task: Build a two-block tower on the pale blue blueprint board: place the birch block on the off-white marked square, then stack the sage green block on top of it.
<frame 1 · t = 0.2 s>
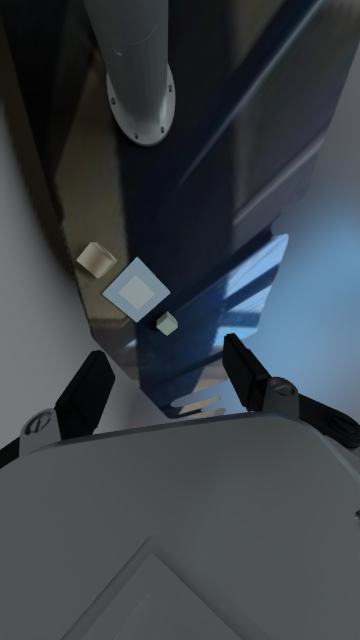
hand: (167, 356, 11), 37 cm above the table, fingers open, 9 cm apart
sage block: (166, 319, 51), on the table
birch block: (102, 259, 40), on the table
blueprint board: (137, 292, 45), on the table
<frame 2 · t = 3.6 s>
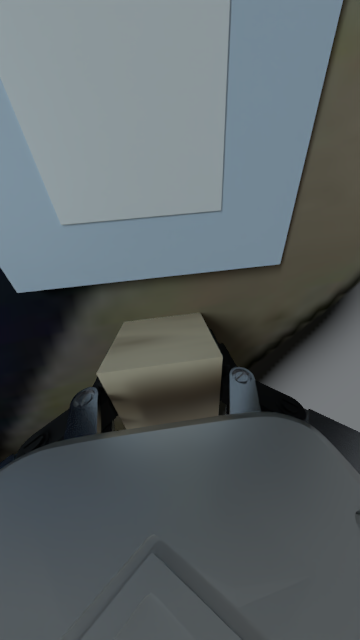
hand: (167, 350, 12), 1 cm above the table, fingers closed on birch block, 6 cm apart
birch block: (167, 347, 12), on the table, touching gripper
blueprint board: (126, 108, 6), on the table
when the fingers open (3 cm above the table, at t = 9.6 s): birch block drops 1 cm, resting on blueprint board.
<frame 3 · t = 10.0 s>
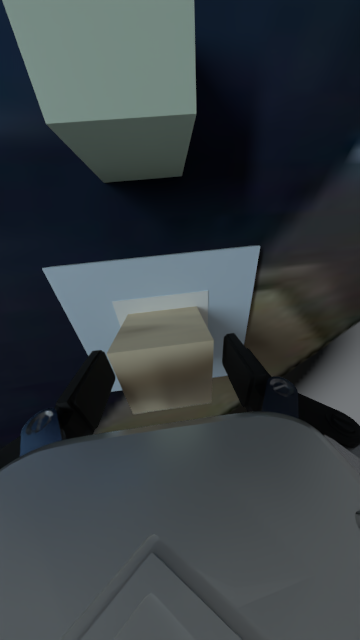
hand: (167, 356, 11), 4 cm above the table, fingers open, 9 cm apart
sage block: (134, 119, 8), on the table
birch block: (167, 338, 14), point 1 cm above the table, touching blueprint board
blueprint board: (166, 329, 14), on the table
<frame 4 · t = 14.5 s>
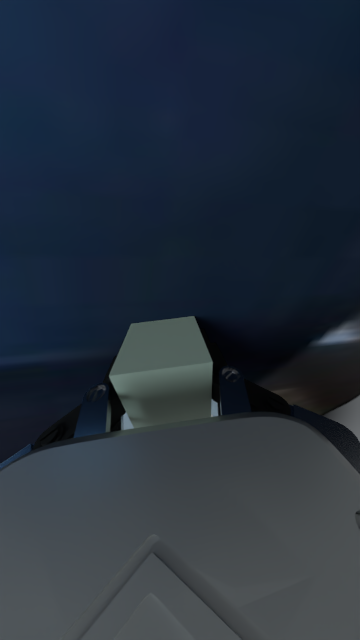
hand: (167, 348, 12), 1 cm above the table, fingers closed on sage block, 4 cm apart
sage block: (167, 344, 12), on the table, touching gripper
when the fingers open (8 cm above the table, at t = 19.8 s): sage block drops 1 cm, resting on birch block.
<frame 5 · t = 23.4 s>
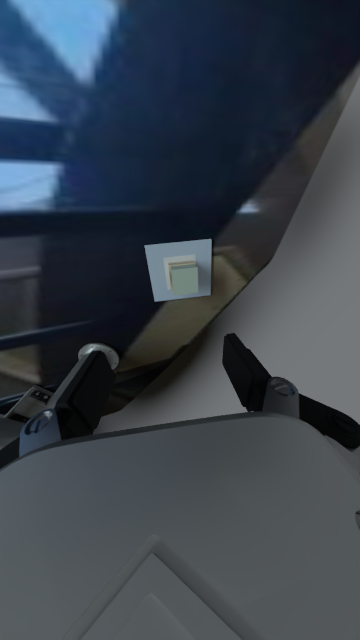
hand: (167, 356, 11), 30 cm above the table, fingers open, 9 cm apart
sage block: (182, 276, 32), point 6 cm above the table, touching birch block
birch block: (180, 273, 36), point 1 cm above the table, touching blueprint board, sage block
blueprint board: (180, 272, 37), on the table
cassette tape recorder: (50, 395, 55), on the table
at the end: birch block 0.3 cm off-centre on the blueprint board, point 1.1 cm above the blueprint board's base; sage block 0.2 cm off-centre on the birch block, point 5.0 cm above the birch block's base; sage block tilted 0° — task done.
